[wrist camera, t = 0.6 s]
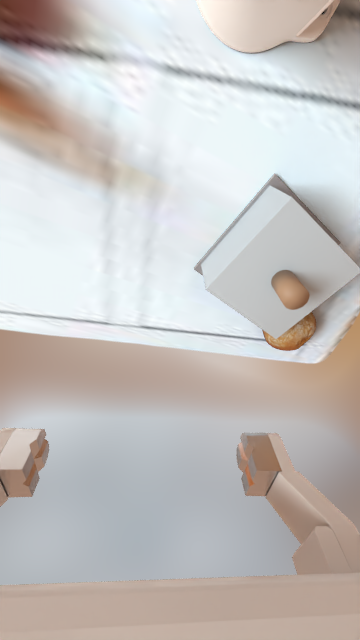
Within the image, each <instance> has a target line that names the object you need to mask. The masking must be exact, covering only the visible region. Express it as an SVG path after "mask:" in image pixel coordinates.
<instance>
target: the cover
mask: <svg viewBox="0 0 360 640" xmlns="http://www.w3.org/2000/svg"><path fill="white" fill-rule="evenodd" d="M201 267H202V272H203V277H204V283H205V288H206V290H207V291H208V292H210V293H211V294H213V295H214V296H216V297H217V298H218V299H220V300H221V301H223V302H224V303H225V304H227V305H228V306H230V307H231V308H233V309H234V310H235V311H237V312H238V313H240V314H241V315H242V316H244V317H245V318H247V319H248V320H250V321H251V322H252V323H254V324H255V325H257V326H258V327H259V328H261V329H262V330H264V331H265V332H267V333H268V334H269V335H271V336H272V337H274V338H275V339H277V338H278V337H280V336H281V335H282V334H284V333H285V332H286V331H287V330H289V329H290V328H291V327H292V326H294V325H295V324H296V323H297V322H299V321H300V320H301V319H303V318H304V317H305V316H306V315H308V314H309V313H310V312H311V311H313V310H314V309H315V308H317V307H318V306H319V305H320V304H322V303H323V302H324V301H325V300H327V299H328V298H329V297H330V296H332V295H333V294H334V293H336V292H337V291H338V290H339V289H341V288H342V287H343V286H344V285H346V284H347V283H348V282H349V281H351V280H352V279H353V278H355V277H356V276H357V275H358V274H360V267H359V266H358V265H357V264H356V263H355V262H354V261H353V260H352V259H351V258H350V257H349V256H348V255H347V254H346V253H345V252H344V251H343V250H342V249H341V248H340V247H339V246H338V245H337V243H336V242H335V241H334V240H333V239H332V238H331V237H330V236H329V235H328V234H327V233H326V232H325V231H324V230H323V229H322V228H321V227H320V226H319V225H318V224H317V223H316V222H315V221H314V220H313V218H312V217H311V216H310V215H309V214H308V213H307V212H306V211H305V210H304V209H303V208H302V207H301V206H300V205H299V204H298V203H297V202H296V201H295V200H294V199H293V198H292V197H291V196H289V195H287V194H285V193H283V192H282V191H280V190H278V189H276V188H274V187H272V186H269V187H268V188H267V189H266V190H265V191H264V192H263V194H262V195H261V196H260V197H259V198H258V199H257V201H256V202H255V203H254V204H253V205H252V206H251V207H250V209H249V210H248V211H247V212H246V213H245V214H244V216H243V217H242V218H241V219H240V220H239V221H238V222H237V224H236V225H235V226H234V227H233V228H232V229H231V231H230V232H229V233H228V234H227V235H226V236H225V237H224V239H223V240H222V241H221V242H220V243H219V244H218V245H217V247H216V248H215V249H214V250H213V251H212V252H211V254H210V255H209V256H208V257H207V258H206V259H205V260H204V262H203V263H202V264H201Z"/></svg>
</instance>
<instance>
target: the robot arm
mask: <svg viewBox="0 0 360 640" xmlns="http://www.w3.org/2000/svg"><path fill="white" fill-rule="evenodd" d="M340 1H341V0H196V2H197V5H198V7H199V10H200V12H201V14H202V17H203V19H204V20H205V22H206V24H207V25H208V27H209V28H210V30H211V31H212V32H213V34H214V35H215V36H216V37H217V38H218V39H219V40H220V41H221V42H223V43H224V44H225V45H227V46H229V47H230V48H232V49H235V50H237V51H241V52H248V53H254V52H261V51H265V50H268V49H271V48H273V47H275V46H277V45H280V44H282V43H284V42H288V41H294V42H304V43H306V42H312V41H314V40H316V39H317V38H318V37H319V36H320V35H321V34H322V32H323V31H324V29H325V28H326V26H327V24H328V22H329V21H330V19H331V17H332V15H333V13H334V12H335V10H336V8H337V6H338V4H339V3H340ZM324 10H325V11H324ZM323 11H324V14H323V15H321V13H322V12H323ZM45 436H46V432H45V430H44V429H20V428H2V430H0V507H1V506H2V505H3V504H4V503H5V502H6V501H7V499H8V497H32V495H33V493H34V491H35V488H36V486H37V483H38V481H39V475H38V471H40V470H41V469H42V468H43V467H44V466H45V463H46V460H47V457H48V452H49V444H48V441H47V440H45V439H44V438H45ZM241 441H242V442H241V443H239V444H238V447H237V463H238V467H239V468H240V470H242V472H243V476H242V483H243V487H244V491H245V495H246V496H266V499H267V500H268V501H269V502H270V504H271V505H272V506H273V508H274V509H275V510H276V512H277V513H278V514H279V516H280V517H281V518H282V520H283V521H284V522H285V524H286V525H287V526H288V527H289V528H290V530H291V531H292V533H293V534H294V535H295V537H296V538H297V539H298V541H299V542H300V543H301V546H300V547H299V548H298V549H297V550H296V552H295V553H294V555H293V557H292V558H293V562H294V565H295V568H296V571H297V575H278V576H277V575H276V576H250V577H221V578H191V579H163V580H137V581H136V580H135V581H108V582H79V583H52V584H22V585H0V640H360V535H359V533H358V531H357V529H356V527H355V525H354V524H353V523H352V522H351V521H350V520H349V519H348V518H347V517H346V516H345V515H344V514H343V513H342V512H340V511H339V510H338V509H337V508H336V507H335V506H334V505H333V504H332V503H331V502H330V501H329V500H328V499H327V498H326V497H325V496H324V495H322V493H321V492H319V491H318V490H317V489H316V488H315V487H314V486H313V485H312V484H311V483H310V482H309V481H308V480H307V479H306V478H305V477H303V475H302V474H300V473H299V472H295V470H294V467H293V465H292V463H291V460H290V458H289V456H288V454H287V451H286V449H285V447H284V444H283V442H282V440H281V437H280V436H279V434H277V433H243V434H242V435H241Z"/></svg>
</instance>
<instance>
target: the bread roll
mask: <svg viewBox="0 0 360 640" xmlns="http://www.w3.org/2000/svg"><path fill="white" fill-rule="evenodd" d="M315 329H316V320H315V317H314V315H313V313H312V312H310V313H309V314H308V315H306V316H305V317H304V318H303V319H301V320H300V321H299V322H297V323H296V324H295V325H294V326H292V327H291V328H290V329H289V330H287V331H286V332H285V333H284V334H282V335H281V336H280V337H278V338H277V339H275V338H274V337H272V336H271V335H269V334H268V333H267V332H265V331H264V330H263V334H264V337H265V339H266V341H267V343H268V344H269V345H271V346H272V347H274V348H276V349H279V350H286V351H290V350H296V349H298V348H299V347H301V346H302V345H303V344H304V343H305V342H306V341H307V340H309V339H310V338H311V336H312V335H313V334H314V332H315Z"/></svg>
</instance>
